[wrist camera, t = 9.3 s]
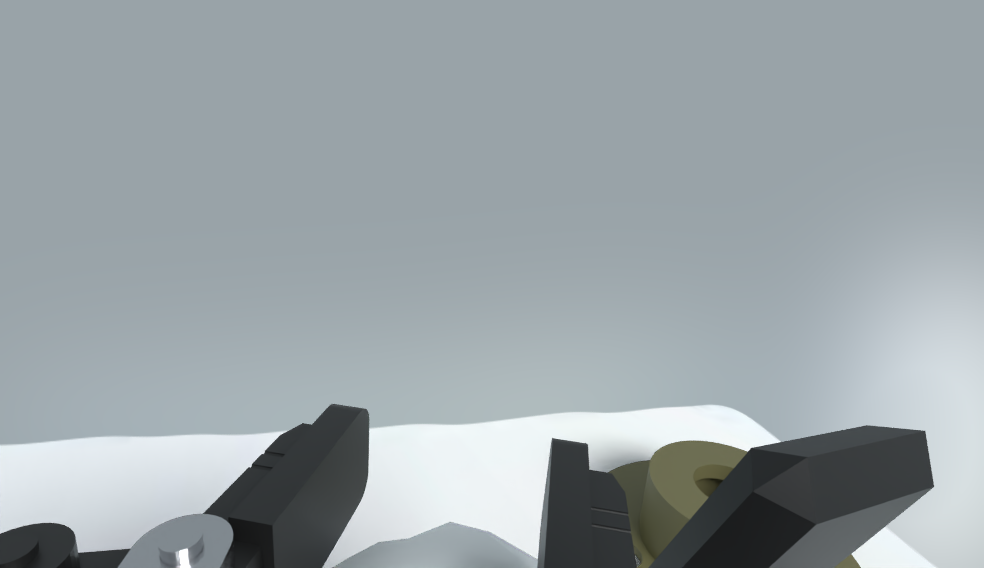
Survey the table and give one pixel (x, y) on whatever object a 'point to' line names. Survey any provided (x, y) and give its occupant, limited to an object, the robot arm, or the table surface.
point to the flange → (675, 492)
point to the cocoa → (741, 510)
